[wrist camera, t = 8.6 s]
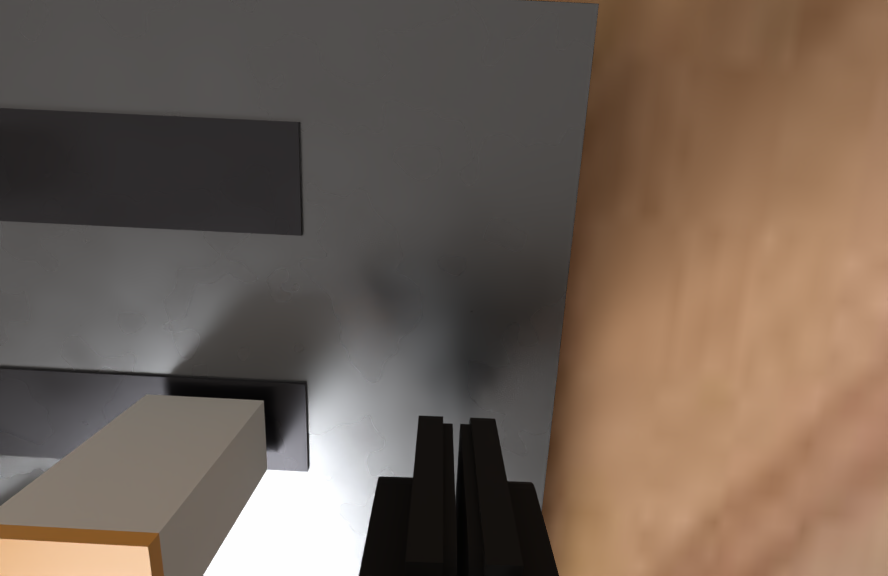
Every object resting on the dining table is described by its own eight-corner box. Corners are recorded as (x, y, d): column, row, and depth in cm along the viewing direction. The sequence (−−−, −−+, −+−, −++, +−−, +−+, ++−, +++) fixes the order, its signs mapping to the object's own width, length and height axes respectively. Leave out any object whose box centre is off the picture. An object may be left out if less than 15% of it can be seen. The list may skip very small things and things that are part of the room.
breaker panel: (576, 27, 12) (600, 2, 10) (510, 668, 18) (517, 733, 16) (-509, -21, 13) (-693, -55, 11) (-256, 625, 18) (-346, 684, 16)
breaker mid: (264, 400, 13) (148, 546, 8) (267, 469, 13) (159, 646, 8) (146, 394, 13) (-40, 536, 8) (154, 463, 13) (-16, 636, 8)
